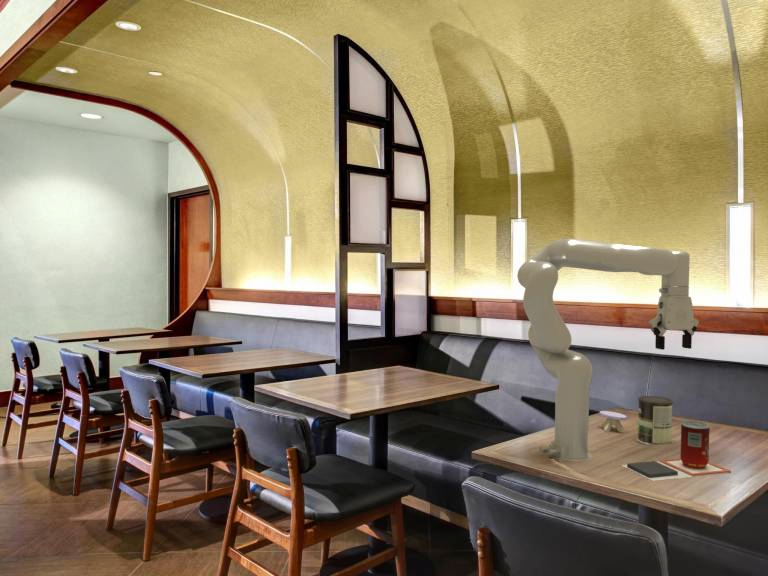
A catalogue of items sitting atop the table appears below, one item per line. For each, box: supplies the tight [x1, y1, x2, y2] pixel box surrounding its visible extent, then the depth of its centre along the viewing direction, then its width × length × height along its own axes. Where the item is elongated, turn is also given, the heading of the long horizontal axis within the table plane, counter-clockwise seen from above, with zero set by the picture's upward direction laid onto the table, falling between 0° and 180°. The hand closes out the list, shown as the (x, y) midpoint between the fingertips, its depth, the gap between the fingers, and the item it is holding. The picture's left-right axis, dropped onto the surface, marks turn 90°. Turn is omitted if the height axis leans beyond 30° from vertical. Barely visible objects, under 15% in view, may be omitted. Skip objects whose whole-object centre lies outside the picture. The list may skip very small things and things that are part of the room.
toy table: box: [599, 410, 628, 434], centre depth 216 cm, size 10×9×6 cm
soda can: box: [679, 420, 710, 470], centre depth 172 cm, size 7×7×12 cm
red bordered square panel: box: [659, 457, 732, 477], centre depth 173 cm, size 13×13×1 cm
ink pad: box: [626, 460, 678, 479], centre depth 169 cm, size 9×9×1 cm
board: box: [621, 461, 727, 482], centre depth 171 cm, size 24×13×1 cm, turn 106°
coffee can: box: [636, 395, 674, 446], centre depth 201 cm, size 10×10×14 cm
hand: (673, 348), depth 187 cm, fingers open, 9 cm apart
